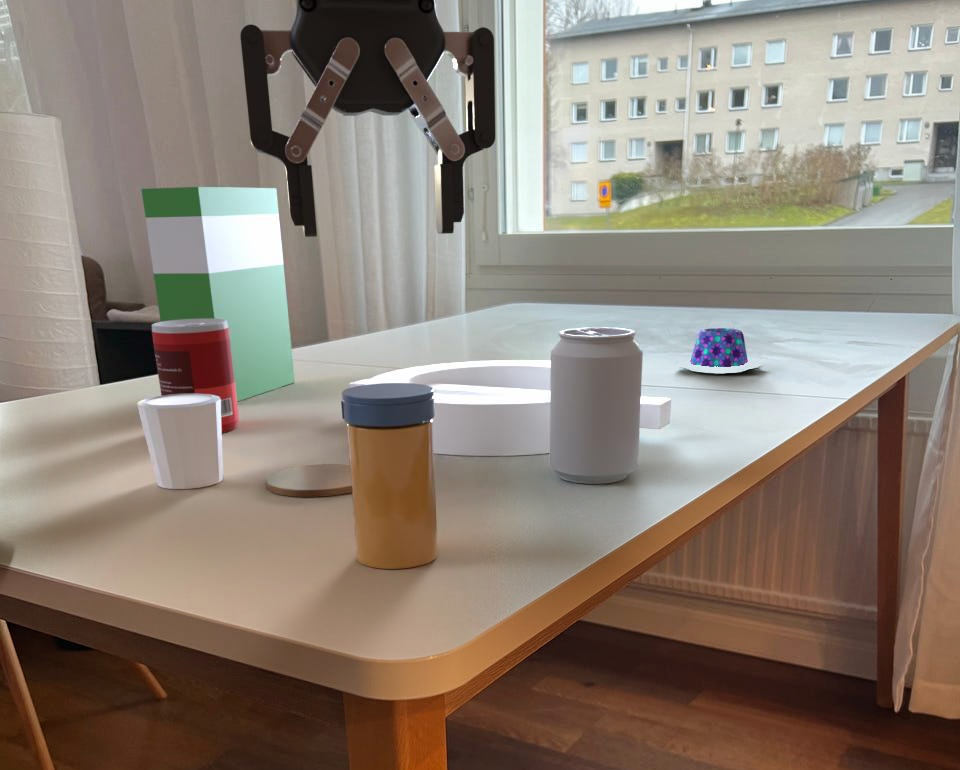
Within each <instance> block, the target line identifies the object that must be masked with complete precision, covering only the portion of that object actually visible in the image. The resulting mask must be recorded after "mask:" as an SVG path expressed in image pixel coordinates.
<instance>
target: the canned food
mask: <svg viewBox="0 0 960 770" xmlns="http://www.w3.org/2000/svg"><path fill="white" fill-rule="evenodd" d="M151 335H152V342H153V349H154V351H153V352H154V356H155V357H154V358H155V363H156V368H157V369H156V370H157V375H158V376H157V377H158V383H159V389H160V396H163V395H171V394H191V393H196V394H210V395H215V396H219V397H220V399H221V426H222V434H224V433H228V432H230V431H233V430H236V429H237V427H238V426H239V422H240V415H239V414H240V413H239V406H238V402H237V396H236V387H235V379H234V370H233V361H232V352H231V343H230V336H229V328H228V325H227V321H226V320H223V319H182V320H171V321H163V322H161V321H157V322H154V323H152V324H151Z"/></svg>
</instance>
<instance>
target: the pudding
mask: <svg viewBox="0 0 960 770" xmlns="http://www.w3.org/2000/svg"><path fill="white" fill-rule="evenodd" d="M747 354H748V353H747V348H746V341H745V335H744V332H743V331H742V330H740V329H736V328H726V327H725V328H724V327H721V328H720V327H717V328H713V327H712V328H706V329H705V328H704V329H701V330H700V331H699V332H698V334H697V337H696V340H695V343H694V346H693V350H692V354H691V357H690V359H691V360H690V362H691V364H693V365H701V366H709V367H714V366H716V367H717V366H718V367H731V366H740V365H744V364H745V363H747V362H748V360H749V359H748V355H747Z"/></svg>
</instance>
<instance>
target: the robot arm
mask: <svg viewBox="0 0 960 770" xmlns="http://www.w3.org/2000/svg"><path fill="white" fill-rule="evenodd" d="M294 2H295V18H294V21H293V24H292V26H291V29H290V30H285V29H281V30H279V29H278V30H277V29H272V30H271V29H261V28H260V27H259V26H257V25H255V24H251V23H250V24H247V25H245V26H243V28H241V31H240V35H239V39H240V47H241V48H240V49H241V56H242V66H243V67H242V68H243V77H244V87H245V95H246V104H247V105H246V107H247V116H248V126H249V136H250V144H251V146H252V149H254V150H255V151H256V152H257V153H260V154H264V155H267V156H269V157H272V158H275V159H277V160H279V162H281V163H282V165H283V166H284V169H285V175H286V188H287V197H288V209H289V210H288V211H289V217H290V219H291V221H292V224H293V226H294V227H299V226H300V227H302V232H303V237H305V238H313V237H316V238H317V237H318V231H317V230H318V229H317V216H316V205H315V191H314V180H313V168H312V167H313V166H312V164H309V162H308V161H309V160H308V155H309V153H310V150H311V149H312V147H313V145H314V143H315V141H316V139H317V138H318V135H319V133H320V131H321V130H322V128H323V126H324V124H325V122H326V120H327V119H328V116H329V114H330V113H331V111H332V110H334V111H335V112H337V113H339V114H341V115H342V116H343V117H351V116H352V117H355V116H357V117H358V116H360V115H363V114H366V113H374V114H377V115H381V116H398V115H401V114H402V113H404V112H406V111H407V112H408V114H409V115H410V117H411V119H412V120H413V122H414V123H415V125H416V127H418V129H419V130H420V131H421V132H422V134H423V135H424V137H425V138H426V140H427V142H428V143H429V144H430V146H431V148H432V149H433V151H434V152H435V153H436V155H437V164H434V165H433V171H434V173H433V174H434V197H435V198H434V199H435V200H434V201H435V224H436V225H435V227H436V232H437V234H439V235H440V234H441V235H445V234H454V231H455V230H454V229H455V225H454V224H455V223H461V222H462V220H463V218H464V214H465V203H464V201H465V197H464V196H465V195H464V163H465V162H466V160H467V159H468V158H469V157H470V156H472V155H473V154H474V155H475V154H476V153H479V152H481V151H484V150H486V149H489V148H491V147H492V146H493V145H494V144H495V142H496V90H495V89H496V83H495V80H496V79H495V78H496V77H495V76H496V75H495V73H496V72H495V70H496V69H495V38H494V33H493V32H492V31H491V29H489V28H487V27H485V26H484V27H483V26H482V27H479V28H477V29H475V30H474V31H445V30H444V29H443V27H442V25H441V23H440V21H439V19H438V15H437V12H436V11H437V10H436V0H295V1H294ZM289 53H291V54H292V56H293V58H294V59H295V61H296V62H297V63H298V65H299V66H300V67H301V69H302V71H303V72H304V73H305V75H307V77H308V78H309V80H310V81H311V83H312V84H313V85H314V87H315V88H314V90H313V92H312V93H311V96H310V98H309V100H308V101H307V103H306V106H305V107H304V109H303V111H302V113H301V115H300V118H299V119H298V121H297V123H296V125H295V126H294V128H293V131H292V133H291V134H290V136H288V135H285V134H283V133H280V132H279V131H275V130H273V124H272V123H273V122H272V112H271V102H270V92H269V82H268V81H269V80H268V77H274V76H276V75H277V74H278V73H279V72H280V70H281V64H282V60H283V59H282V58H283V57H284V56H285V55H286V54H289ZM444 54H446V55H448V56H449V58H450V59H451V60H452V63H453V68H454V70H455V73H457V74H458V75H459V76H461V77H465V79H464V82H465V114H466V115H465V116H466V117H465V120H466V123H465V124H466V131H463V132H462V133H460V134H458V132H457V131H456V129H455V128H454V126H453V124H452V122H451V120H450V119H449V117H448V115H447V114H446V110H445V108H444V106H443V104H442V103H441V101H440V100H439V98H438V96H437V94H436V93H435V92H434V90H433V88H432V86H431V85H430V83H429V82H428V81H429V79H430V77H431V76H432V75H433V72H434V70H435V69H436V67H437V66H438V63H440V60H441V59H442V57H443V56H444Z"/></svg>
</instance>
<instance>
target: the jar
mask: <svg viewBox="0 0 960 770" xmlns="http://www.w3.org/2000/svg"><path fill="white" fill-rule="evenodd" d="M346 430H347V443H348V444H347V445H348V458H349V465H350V472H351V485H352V492H351V497H352V510H353V511H352V512H353V524H354V537H355V538H354V539H355V551H356V560H357V561H358V562H359V563H360V564H362V565H363V566H367V567H369V568H374V569H382V570H402V569H411V568H415V567H420V566H424V565H426V564H429V563H431V562H433V561H434V560H435V559H436V558H437V557H438V555H439V554H438V553H439V549H438V528H437V527H438V526H437V525H438V524H437V504H436V503H437V501H436V478H435V476H436V475H435V455H434V454H435V453H434V449H433V424H432V419H431V420H428V421H425V422H422V423H418V424H412V425H403V426H389V427H373V426H360V425H354V424H350V423H348V422H346Z"/></svg>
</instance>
